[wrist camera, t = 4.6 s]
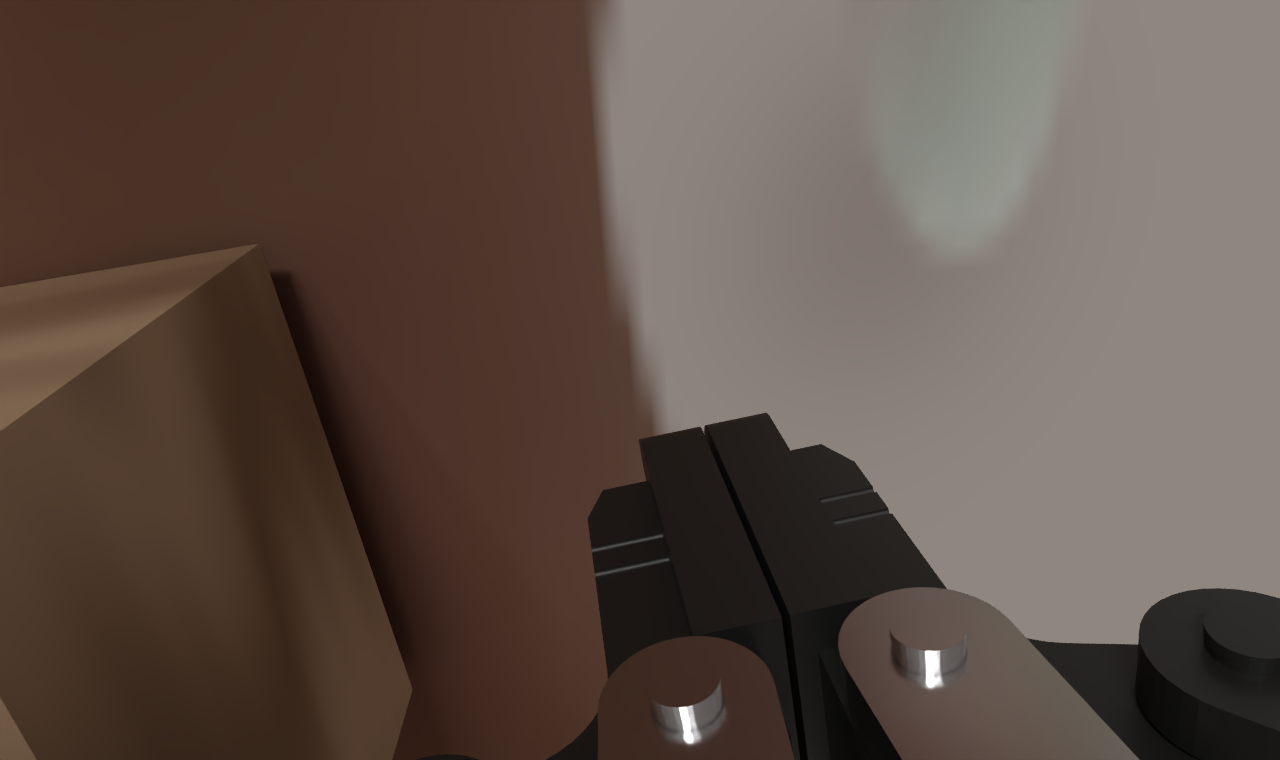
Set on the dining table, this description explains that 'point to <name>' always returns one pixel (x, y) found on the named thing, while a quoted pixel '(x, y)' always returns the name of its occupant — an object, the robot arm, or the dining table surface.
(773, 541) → the robot arm
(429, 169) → the dining table surface
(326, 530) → the tan block
